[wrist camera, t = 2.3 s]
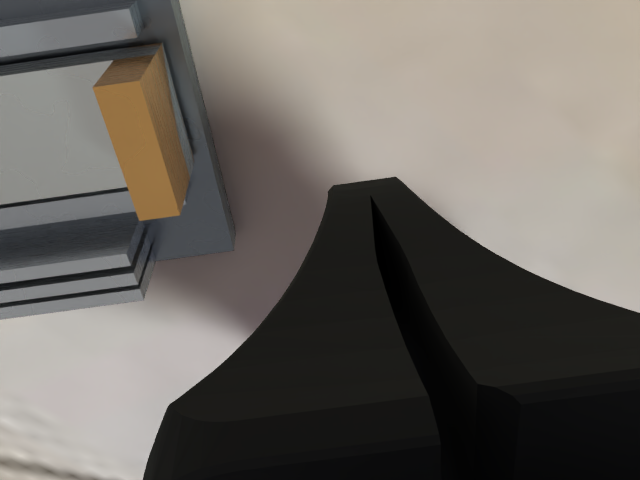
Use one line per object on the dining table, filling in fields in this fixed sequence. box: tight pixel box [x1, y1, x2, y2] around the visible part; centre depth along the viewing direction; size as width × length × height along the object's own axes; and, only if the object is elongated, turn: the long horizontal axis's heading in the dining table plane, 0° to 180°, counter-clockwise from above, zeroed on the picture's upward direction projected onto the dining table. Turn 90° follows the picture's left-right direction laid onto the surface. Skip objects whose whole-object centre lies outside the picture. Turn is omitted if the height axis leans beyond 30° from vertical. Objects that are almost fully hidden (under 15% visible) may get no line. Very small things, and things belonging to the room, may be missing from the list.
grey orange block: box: [0, 43, 194, 221], centre depth 17 cm, size 8×4×4 cm, turn 97°
